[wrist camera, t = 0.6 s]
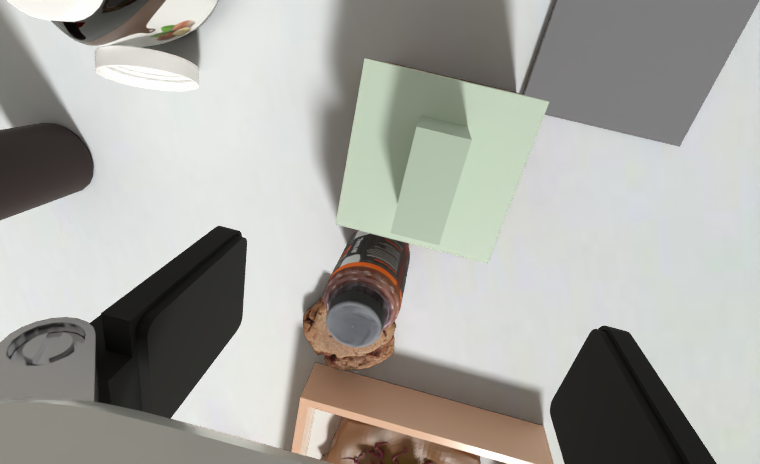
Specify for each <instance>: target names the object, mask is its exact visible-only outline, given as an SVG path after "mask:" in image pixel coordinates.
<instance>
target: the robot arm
mask: <svg viewBox="0 0 760 464" xmlns="http://www.w3.org/2000/svg"><path fill="white" fill-rule="evenodd" d="M246 251H247V240H246V238H243V237H242V235H241V232H240V231H237V230H233V229H230V228H226V227H222V226H217V227H216V228H214V229H213V230H212V231H210V232H209V233H208V234H206V235H205V236H204V237H202V238H201V239H200V240H198V241H197V242H196V243H194V244H193V245H192V246H190V247H189V248H188V249H186V250H185V251H184V252H182V253H181V254H180V255H178V256H177V257H176V258H174V259H173V260H172V261H170V262H169V263H168V264H166V265H165V266H164V267H162V268H161V269H160V270H158V271H157V272H156V273H154V274H153V275H152V276H150V277H149V278H148V279H146V280H145V281H144V282H142V283H141V284H140V285H138V286H137V287H136V288H134V289H133V290H132V291H130V292H129V293H128V294H126V295H125V296H124V297H122V298H121V299H120V300H118V301H117V302H116V303H114V304H113V305H112V306H110V307H109V308H108V309H106V310H105V311H104V312H102V313H101V315H100V316H99V317H97V318H96V319H95V320H93V321H92V322H91V323H88V322H86V321H84V320H81V319H78V318H68V317H62V318H50V319H46V320H42V321H37V322H34V323H32V324H29V325H26V326H24V327H21V328H20V329H18V330H16V331H14V332H13V333H11V334H9V335H8V336H7V337H6V338H5V339H4V340H3V341H1V342H0V464H333V463H329V462H326V461H322V460H319V459H315V458H312V457H308V456H304V455H301V454H297V453H294V452H290V451H287V450H283V449H280V448H276V447H272V446H269V445H265V444H262V443H258V442H255V441H251V440H247V439H244V438H240V437H237V436H233V435H230V434H226V433H223V432H219V431H215V430H212V429H208V428H204V427H200V426H196V425H192V424H189V423H185V422H181V421H177V420H173V419H170V418H171V417H172V416H173V414H174V413H175V412H176V411H177V409H178V408H179V407H180V405H181V404H182V403H183V401H184V400H185V399H186V397H187V396H188V395H189V393H190V392H191V391H192V389H193V388H194V387H195V385H196V384H197V383H198V381H199V380H200V379H201V377H202V376H203V375H204V374H205V372H206V371H207V370H208V368H209V367H210V366H211V364H212V363H213V362H214V360H215V359H216V358H217V356H218V355H219V354H220V352H221V351H222V350H223V348H224V347H225V346H226V344H227V343H228V342H229V340H230V339H231V338H232V336H233V335H234V334H235V333H236V331H237V330H238V328H239V326H240V324H241V321H242V314H243V298H244V282H245V266H246ZM550 415H551V419H552V422H553V425H554V429H555V432H556V436H557V439H558V443H559V446H560V449H561V453H562V456H563V460H564V463H565V464H716V462H715V461H714V459H713V458H712V456H711V455H710V453H709V451H708V450H707V448H706V447H705V445H704V444H703V442H702V441H701V439H700V438H699V436H698V435H697V433H696V432H695V430H694V429H693V427H692V426H691V424H690V423H689V421H688V420H687V418H686V417H685V415H684V414H683V412H682V411H681V409H680V408H679V406H678V405H677V403H676V402H675V400H674V399H673V397H672V396H671V394H670V393H669V391H668V390H667V388H666V387H665V385H664V384H663V382H662V381H661V379H660V378H659V376H658V375H657V373H656V372H655V370H654V369H653V367H652V366H651V364H650V363H649V361H648V360H647V358H646V357H645V355H644V354H643V352H642V351H641V349H640V348H639V346H638V345H637V343H636V342H635V340H634V339H633V337H632V335H631V334H630V333H629V332H627V331H623V330H620V329H616V328H612V327H608V326H601V327H600V328H599V329H598V330H597V329H594V330H592V331H591V332H590V334H589V336H588V337H587V339H586V341H585V343H584V345H583V346H582V348H581V350H580V352H579V353H578V355H577V357H576V359H575V361H574V362H573V364H572V366H571V368H570V369H569V371H568V373H567V375H566V377H565V378H564V380H563V382H562V384H561V386H560V387H559V389H558V391H557V393H556V394H555V396H554V398H553V400H552V402H551V406H550Z"/></svg>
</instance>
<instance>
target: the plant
mask: <svg viewBox="0 0 760 464" xmlns="http://www.w3.org/2000/svg"><path fill="white" fill-rule="evenodd" d="M321 460H322V461H326V462H329V463H333V464H480V456H479V455H476V454H472V453H469V452H465V451H462V450H458V449H455V448H451V447H448V446H444V445H441V444H437V443H434V442H430V441H427V440H423V439H420V438H416V437H413V436H409V435H406V434H402V433H399V432H395V431H392V430H388V429H385V428H381V427H378V426H374V425H370V424H367V423H363V422H360V421H356V420H353V419H349V418H346V417H342V419H341V423H340V426H339V429H338V430H337V431H336V433H335V434H334V437H333V441H332V444H331V447H330V451H329V452H328V453H327V454H325V455H323V456H322V459H321Z"/></svg>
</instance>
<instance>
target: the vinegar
mask: <svg viewBox="0 0 760 464" xmlns="http://www.w3.org/2000/svg"><path fill="white" fill-rule="evenodd" d="M92 177H93V163H92V160H91V156H90V154H89V152H88V150H87V148H86V147H85V145H84V144H83V143H82V141H81V140H80V139H79V138H78V137H77V136H76V135H75V134H74V133H72V132H71V131H69V130H68V129H67V128H65V127H62V126H60V125H57V124H52V123H40V124H34V125H28V126H22V127H16V128H10V129H4V130H0V220H2V219H5V218H8V217H10V216H13V215H16V214H19V213H21V212H24V211H27V210H29V209H32V208H35V207H38V206H40V205H43V204H46V203H48V202H51V201H54V200H57V199H59V198H62V197H65V196H67V195H70V194H73V193H75V192H78V191H81V190H83V189H84V188H85V187H86V186H87V185H89V184H90V182H91V179H92Z"/></svg>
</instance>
